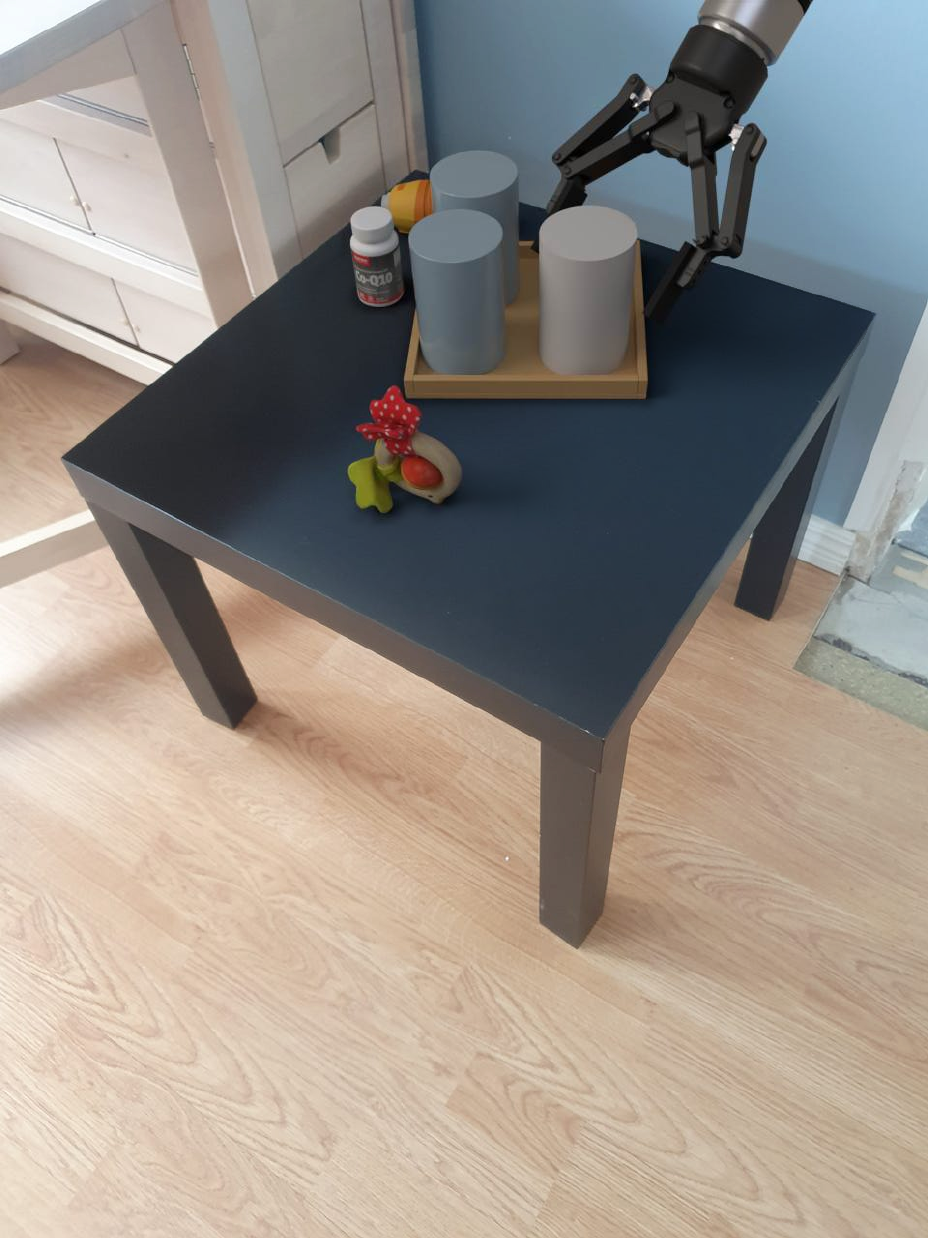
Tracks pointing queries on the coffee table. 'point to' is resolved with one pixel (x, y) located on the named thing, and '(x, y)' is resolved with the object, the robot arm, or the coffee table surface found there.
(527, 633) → the coffee table surface
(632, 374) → the tray
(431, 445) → the bird rattle
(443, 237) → the slate blue cylinder
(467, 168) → the grey-blue cylinder
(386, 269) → the pill bottle
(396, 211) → the toy figure
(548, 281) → the light grey cylinder
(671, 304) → the robot arm
